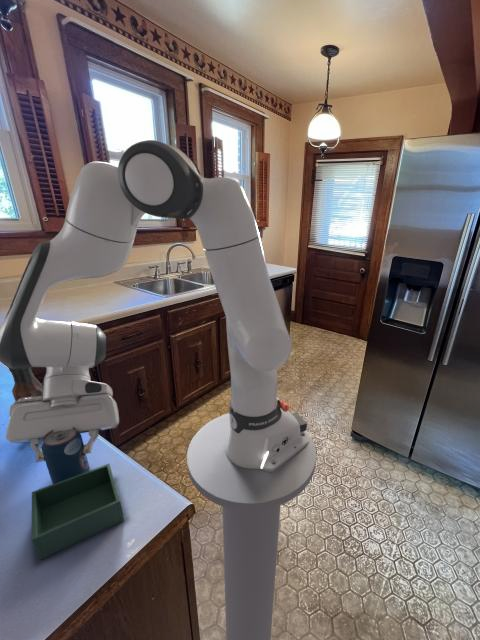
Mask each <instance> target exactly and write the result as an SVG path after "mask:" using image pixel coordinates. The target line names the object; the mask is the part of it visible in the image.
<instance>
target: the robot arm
mask: <svg viewBox="0 0 480 640" xmlns="http://www.w3.org/2000/svg"><path fill="white" fill-rule="evenodd" d="M66 208H67V209H66V214H65V219H64V223H63V225H62V228H61V230H60V231H59V232H58V234H56V235H55V236H54V237H53V238H52V239H51V240H47V241H41V242H40V243H38V245H36V247H35V248H34V250H33V251H32V253H31V255H30V257H29V260H28V262H27V264H26V266H25V269H24V271H23V273H22V276H21V278H20V281H19V283H18V285H17V288H16V291H15V293H14V296H13V298H12V301H11V303H10V305H9V308H8V311H7V313H6V315H5V317H4V320H3V321H2V323H1V324H0V362H1V363H2V364H4V365H6V366H7V367H8V366H9V367H11V368H12V369H16V368H31V369H33V368H46V371H45V375H44V377H43V385H42V386H43V396H36V397H31V398H21V399H19V400H18V401H16V402H15V401H14V402H13V403H12V404H11V405H10V407H9V413H8V414H9V415H8V416H9V420H8V423H7V428H6V435H5V439H6V440H7V442H9V443H12V444H22V443H27V442H29V446H30V447H31V449H32V450H33V452H34V453H35V463H42V462H45V459H44V456H43V452H42V449H41V446H42V444H43V438H44V436H45V435H46V434H47V433H49V432H50V431H52V430H53V432H57V431H60V432H61V431H65V430H69V429H73V428H72V427H74V428H75V429H76V430H77V431H78V432H79V433H80V434H84V433H85V434H86V433H88V436H89V437H90V438H89V440H88V442H87V443H86V444H84V445H83V454H86V455H88V454H92V453H94V452H93V450H94V449H93V448H94V447H93V446H94V444H95V442H96V441H97V439H98V438H99V431H105V430H110V429H116V428H117V427H118V425H119V424H120V415H119V408H118V404H117V401H116V400H115V399H114V398H113V396H114V392H113V388H112V387H111V386H110V385H109V384H107V383H106V382H105V383H104V382H98V381H92V380H91V374H90V369H91V368H95V367H96V366H98V365H99V364H100V363H101V362H103V361H104V360H105V359H106V357H107V356H106V355H107V336H106V333H105V332H104V331H103V330H102V329H101V328H100V327H99V326H98V325H96V324H92V323H84V322H76V321H61V320H51V319H43V318H38V315H39V312H40V310H41V309H42V305H43V302H44V300H45V298H46V296H47V294H48V292H49V291H50V290H51V289H52V288H53V287H55V286H57V285H60V284H63V283H66V282H73V281H76V280H87V279H99V278H103V277H107V276H110V275H112V274H114V273H116V272H118V271H119V270H121V269H122V268H124V267H125V265H126V264H127V262H128V260H129V258H130V256H131V253H132V249H133V246H134V242H135V238H136V235H137V230H138V227H139V224H140V221H141V219H142V218H143V216H144V215H145V214H147V215H150V216H153V217H156V218H164V219H165V218H166V219H178V220H179V219H180V220H191V221H192V223H193V225H194V227H195V228H196V230H197V233H198V235H199V239H200V242H201V245H202V249H203V252H204V255H205V258H206V261H207V264H208V267H209V268H208V269H209V270H210V274H211V276H212V280H213V284H214V287H215V289H216V292H217V295H218V297H219V300H220V304H221V306H222V310H223V312H224V315H225V322H226V323H225V326H226V339H227V352H228V361H229V371H230V401H229V411H228V413H229V419H230V433H229V438H228V441H227V444H226V447H225V452H226V455H227V457H228V459H229V460H230V461H231V462H232V463H234V464H235V465H237V466H240V467H243V468H248V469H261V470H264V471H267V472H273V471H275V470H276V469H277V468H279V467H280V466H281V465H282V464H284V463H285V462H286V461H287V460H289V459H290V458H291V457H293V456H294V455H295V454H296V453H298V452H299V451H300V450H301V449H303V448H304V447H305V446H306V445H307V444H308V437H307V435H306V433H305V432H304V431H307V430H308V429H307V427H308V423H307V422H306V421H305V419H303V417H302V416H301V415H300V414H299V413H298V412H295V413H291V412H290V411H289V410H290V408H291V406H290V404H289V403H287V402H286V401H281V398H279V397H278V381H279V377H278V375H279V374H278V369H279V368H281V367H282V366H284V365H285V364H286V362H288V360H289V358H290V356H291V354H292V351H293V343H292V339H291V336H290V333H289V331H288V328H287V326H286V321H285V318H284V315H283V312H282V309H281V306H280V303H279V301H278V297H277V294H276V292H275V289H274V286H273V283H272V281H271V277H270V274H269V271H268V266H267V263H266V258H265V253H264V250H263V249H264V248H263V245H262V241H261V235H260V232H259V229H258V224H257V221H256V217H255V215H254V212H253V209H252V206H251V203H250V200H249V198H248V197H247V195H246V192H245V189H244V188H243V186H242V185H241V184H240V182H238V181H237V180H235V179H232V178H229V177H225V176H215V177H208V178H207V177H204V176H202V174H201V172H200V169H199V167H198V166H197V164H196V163H195V162H194V160H193V159H192V158H191V157H190V156H189V155H187V154H186V153H185V152H183V151H182V150H181V149H179V147H175V146H174V145H171V144H169V143H166V142H162V141H159V140H154V139H145V140H140V141H137V142H135V143H132V144H131V145H129V146H128V147H127V148H125V151H124V152H123V153H122V155H121V157H120V159H119V162H118V165H116V164H112V163H110V162H106V161H105V162H104V161H92V162H89V163H86V164H85V165H84V166H82V167H81V170H80V171H79V173H78V176H77V178H76V180H75V182H74V186H73V187H72V191H71V194H70V197H69V200H68V204H67V207H66ZM9 367H8V368H9ZM18 402H19V403H18ZM16 403H18V404H16ZM273 464H275V465H273Z"/></svg>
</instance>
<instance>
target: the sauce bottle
mask: <svg viewBox="0 0 480 640" xmlns="http://www.w3.org/2000/svg"><path fill="white" fill-rule="evenodd" d="M7 367H8V371H9V372H10V373H11V375H12V378H13V382H14V384H13V387H12V390H11V392H12V396H13V399H14V402H16V401H18V400H19V399H21V398H31V397H36V396H43V385H42V383H41V382H40V381H39V380H38V378H36V377H35V375H34V373H33V370H32V368H16V369H12V368H11V367H9V366H7ZM18 403H19V402H18ZM18 403H16V404H18Z"/></svg>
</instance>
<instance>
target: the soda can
mask: <svg viewBox="0 0 480 640" xmlns="http://www.w3.org/2000/svg"><path fill="white" fill-rule="evenodd" d="M72 428H73V429H69V430H65V431H61V432H60V431H57V432H53V430H52V431H50V432H49V433H47V434H46V435H45V436H44V438H43V441H42V445H41V446H40V448H41V449H42V452H43V456H44V459H45V461H44V462H45V464H46V469H47V471H48V475H49V477H50V480H51V483H52V484H55V483H58V482H60V481H63V480H66V479H68V478H71V477H74V476H77V475H79V474H82V473H85V472H87V471H90V470H91V469H90V464H89V460H88V456H87V454H83V445H85V444H84V441H83V436H82V433H79V432H78V431H77V430H76V429H75V428H74V427H72Z"/></svg>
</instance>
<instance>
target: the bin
mask: <svg viewBox="0 0 480 640" xmlns="http://www.w3.org/2000/svg"><path fill="white" fill-rule="evenodd" d="M112 471H113V470H112V468H111V465H110V463H107V464H104V465H101V466H98V467H95V468H93V469H90V470H89V471H87V472H85V473H82V474H79V475H77V476H74V477H71V478H68V479H66V480H63V481H60V482H58V483H55V484H53V483H52V484H50V485H47V486H44V487H42V488H39V489H37V490H33V491H31V541H32V542H31V543H32V544H33V547H34V549H35V552H36V554H37V557H38V559H39V561H41V560H43V559H45V558H47V557H49V556H51V555H54V554H56V553H58V552H61V551H62V550H64V549H66V548H68V547H71V546H72V545H75V544H77V543H79V542H81V541H83V540H85V539H88V538H90V537H91V536H93V535H95V534H98V533H100V532H102V531H104V530H106V529H109V528H110V527H114V526H115V525H116V524H119V523H121V522H123V521H125V516H124V512H123V507H122V501H121V499H120V495H119V492H118V488H117V485H116V482H115V478H114V475H113V472H112Z"/></svg>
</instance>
